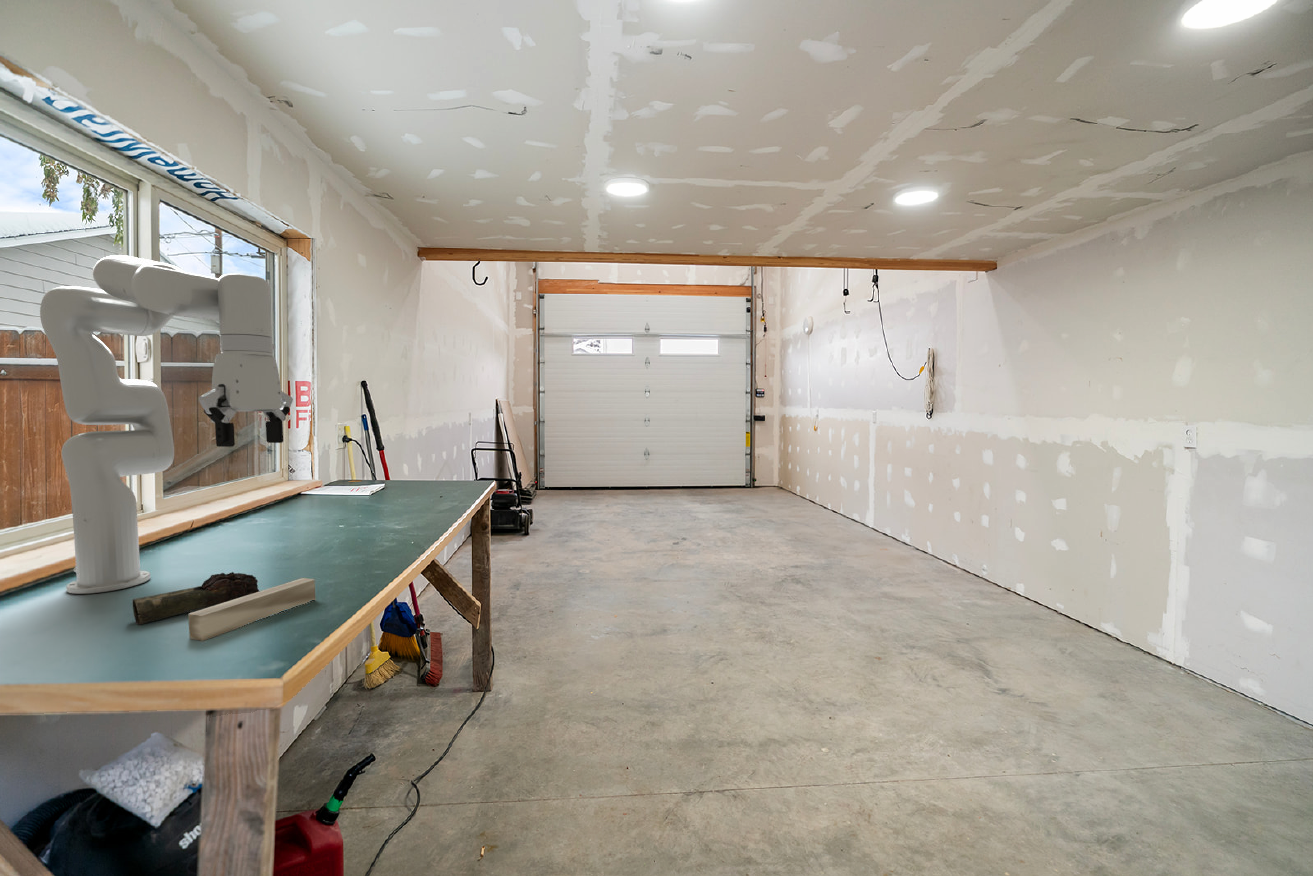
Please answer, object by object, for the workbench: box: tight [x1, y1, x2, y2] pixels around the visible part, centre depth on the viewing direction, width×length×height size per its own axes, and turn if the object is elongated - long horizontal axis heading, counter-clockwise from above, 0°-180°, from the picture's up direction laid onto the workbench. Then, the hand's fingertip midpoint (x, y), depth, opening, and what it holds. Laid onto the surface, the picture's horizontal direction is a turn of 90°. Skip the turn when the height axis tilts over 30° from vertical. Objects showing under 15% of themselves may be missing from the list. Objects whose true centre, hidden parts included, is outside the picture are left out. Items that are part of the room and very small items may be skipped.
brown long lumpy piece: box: [131, 571, 260, 626], centre depth 106 cm, size 18×7×6 cm, turn 139°
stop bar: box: [187, 577, 316, 642], centre depth 101 cm, size 3×20×4 cm, turn 160°
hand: (251, 444), depth 103 cm, fingers open, 9 cm apart
